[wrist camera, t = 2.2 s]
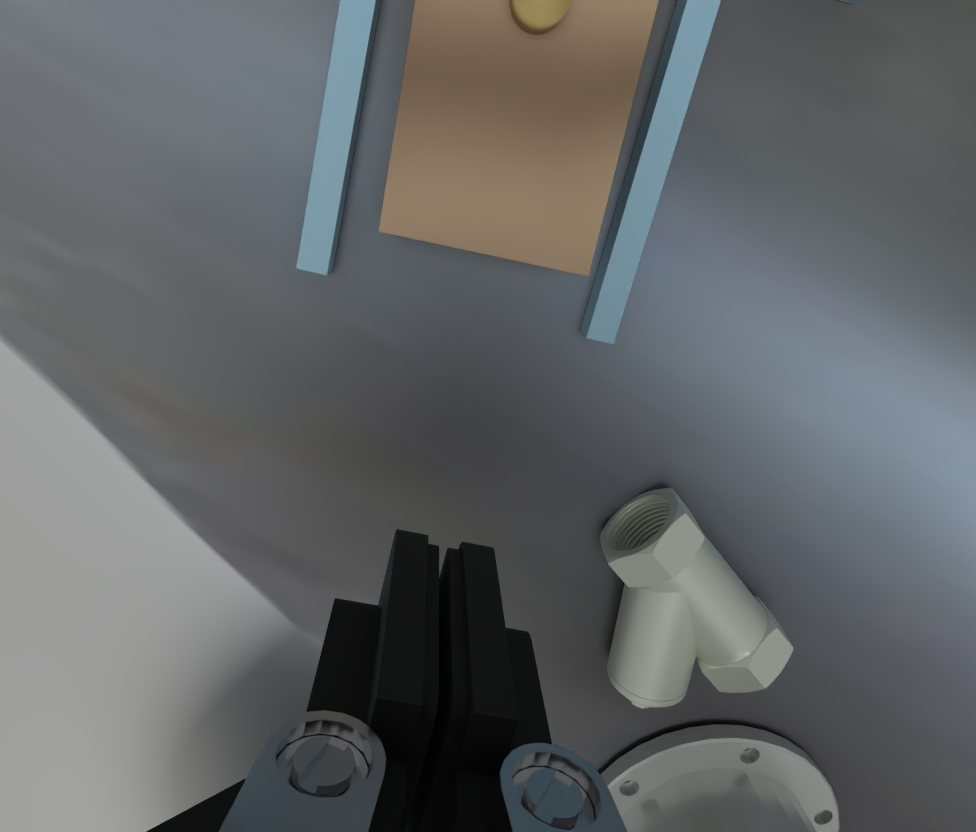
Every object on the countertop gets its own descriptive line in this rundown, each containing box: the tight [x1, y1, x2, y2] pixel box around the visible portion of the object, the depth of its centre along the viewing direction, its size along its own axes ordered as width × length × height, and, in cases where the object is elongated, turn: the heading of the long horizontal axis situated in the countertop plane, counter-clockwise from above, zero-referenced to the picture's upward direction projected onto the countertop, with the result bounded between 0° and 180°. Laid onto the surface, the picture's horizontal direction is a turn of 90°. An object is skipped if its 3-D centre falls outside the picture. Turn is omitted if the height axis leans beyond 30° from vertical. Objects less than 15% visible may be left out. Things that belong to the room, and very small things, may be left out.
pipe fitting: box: [600, 488, 794, 709], centre depth 27 cm, size 8×4×7 cm
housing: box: [379, 0, 659, 276], centre depth 20 cm, size 8×6×6 cm
